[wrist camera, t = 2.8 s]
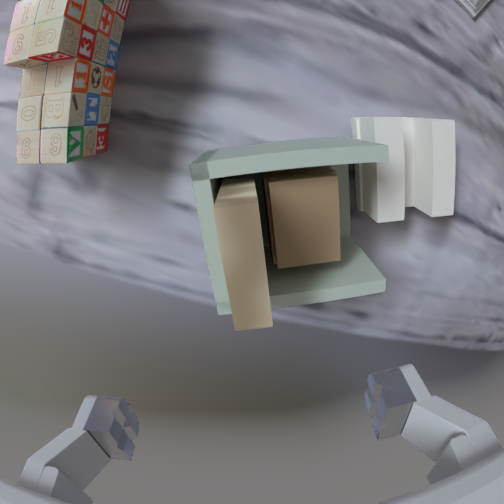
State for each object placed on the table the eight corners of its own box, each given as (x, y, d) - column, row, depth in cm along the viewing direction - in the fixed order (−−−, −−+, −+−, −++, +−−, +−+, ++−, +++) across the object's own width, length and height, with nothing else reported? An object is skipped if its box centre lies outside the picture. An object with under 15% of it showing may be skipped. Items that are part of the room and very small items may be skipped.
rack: (342, 136, 30) (388, 145, 20) (347, 242, 35) (385, 291, 25) (207, 150, 31) (189, 164, 20) (225, 257, 35) (218, 315, 25)
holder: (429, 118, 29) (456, 120, 24) (430, 201, 33) (455, 214, 28) (350, 117, 29) (370, 117, 24) (356, 207, 33) (374, 223, 28)
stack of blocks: (109, 152, 30) (47, 172, 19) (62, 151, 30) (-6, 171, 19) (138, -24, 22) (96, -73, 11) (89, -17, 22) (36, -55, 10)
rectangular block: (251, 165, 30) (258, 202, 16) (260, 240, 33) (272, 326, 20) (227, 168, 30) (212, 208, 16) (238, 243, 33) (235, 330, 20)
